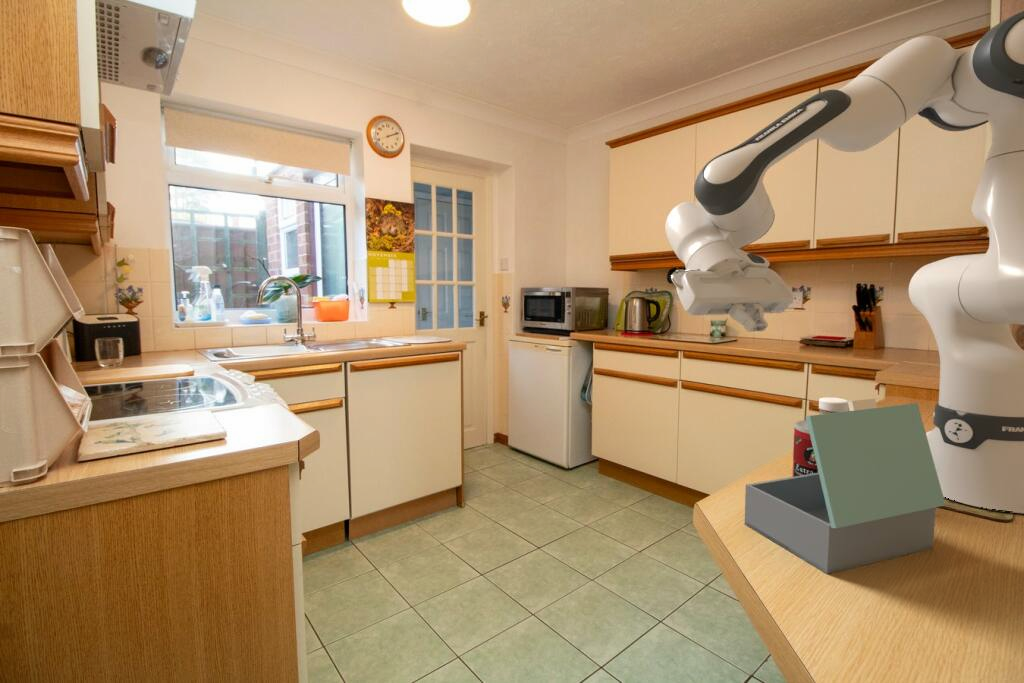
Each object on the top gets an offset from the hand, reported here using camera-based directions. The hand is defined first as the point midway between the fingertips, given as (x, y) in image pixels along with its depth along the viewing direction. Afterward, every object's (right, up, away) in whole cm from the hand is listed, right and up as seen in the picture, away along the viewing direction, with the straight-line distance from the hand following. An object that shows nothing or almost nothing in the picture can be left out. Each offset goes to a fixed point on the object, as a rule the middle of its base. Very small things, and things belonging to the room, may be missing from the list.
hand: (758, 329), depth 76 cm
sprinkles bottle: (+20, -26, +13) cm, 36 cm away
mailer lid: (+6, -16, -17) cm, 24 cm away
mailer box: (+5, -29, -11) cm, 31 cm away
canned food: (+13, -27, +5) cm, 30 cm away
